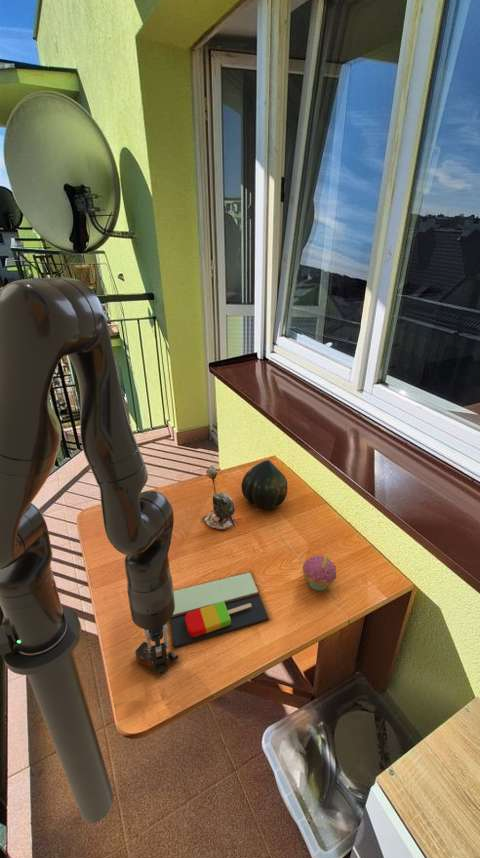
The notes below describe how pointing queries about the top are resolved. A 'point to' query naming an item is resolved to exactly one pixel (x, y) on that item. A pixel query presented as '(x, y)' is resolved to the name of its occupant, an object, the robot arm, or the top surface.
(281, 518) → the top surface
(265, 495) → the squash
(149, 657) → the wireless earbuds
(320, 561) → the cupcake
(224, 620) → the popsicle
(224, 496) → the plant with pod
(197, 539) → the top surface
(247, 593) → the sorting mat
